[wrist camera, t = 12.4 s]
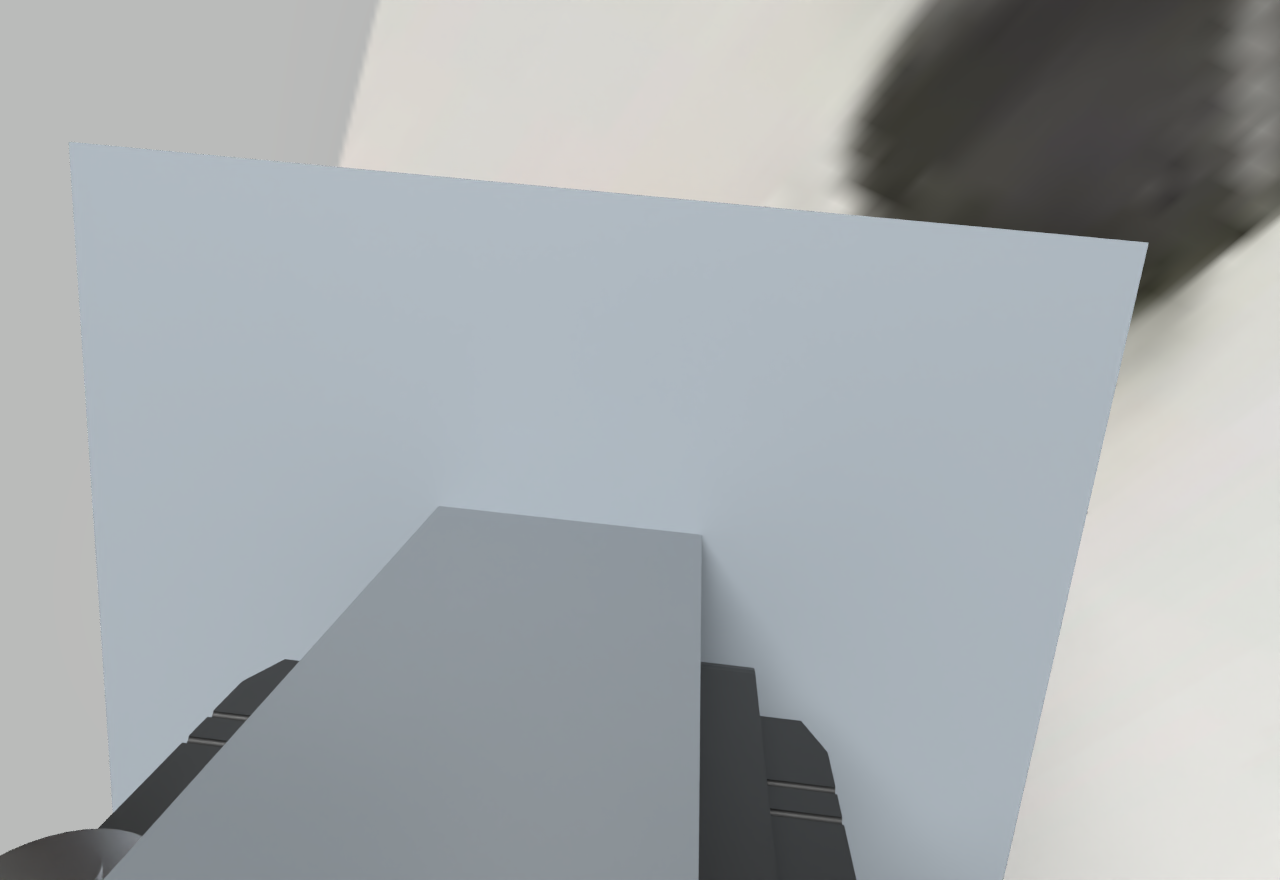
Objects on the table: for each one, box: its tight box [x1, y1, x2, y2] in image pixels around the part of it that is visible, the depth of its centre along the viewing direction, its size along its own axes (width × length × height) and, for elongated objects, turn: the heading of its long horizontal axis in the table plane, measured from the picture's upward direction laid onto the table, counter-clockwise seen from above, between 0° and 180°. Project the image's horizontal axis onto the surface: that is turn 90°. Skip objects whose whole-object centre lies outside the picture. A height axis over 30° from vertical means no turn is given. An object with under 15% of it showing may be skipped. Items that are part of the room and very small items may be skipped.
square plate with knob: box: [69, 142, 1148, 880], centre depth 12 cm, size 11×11×15 cm
